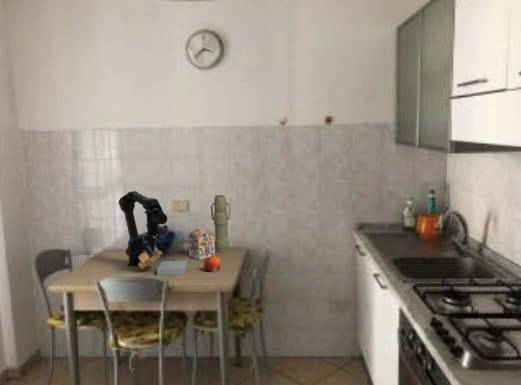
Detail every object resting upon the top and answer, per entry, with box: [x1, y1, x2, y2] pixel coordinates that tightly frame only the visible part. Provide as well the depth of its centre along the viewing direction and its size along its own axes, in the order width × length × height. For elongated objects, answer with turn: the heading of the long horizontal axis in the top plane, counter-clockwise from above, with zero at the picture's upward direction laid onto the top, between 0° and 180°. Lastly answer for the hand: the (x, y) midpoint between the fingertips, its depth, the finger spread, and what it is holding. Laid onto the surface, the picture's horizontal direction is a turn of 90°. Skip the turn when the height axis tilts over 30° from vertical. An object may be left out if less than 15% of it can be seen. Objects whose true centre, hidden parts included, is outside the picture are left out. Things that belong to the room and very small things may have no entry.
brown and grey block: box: [138, 245, 163, 270], centre depth 269 cm, size 12×8×8 cm
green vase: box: [210, 194, 231, 253], centre depth 307 cm, size 9×12×35 cm
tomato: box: [203, 255, 222, 272], centre depth 267 cm, size 9×9×8 cm
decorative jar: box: [187, 226, 216, 261], centre depth 296 cm, size 12×12×18 cm
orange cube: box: [138, 251, 151, 263], centre depth 269 cm, size 4×4×4 cm
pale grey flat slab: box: [156, 260, 189, 276], centre depth 270 cm, size 14×16×3 cm
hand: (153, 250), depth 268 cm, fingers closed on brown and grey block, 3 cm apart
